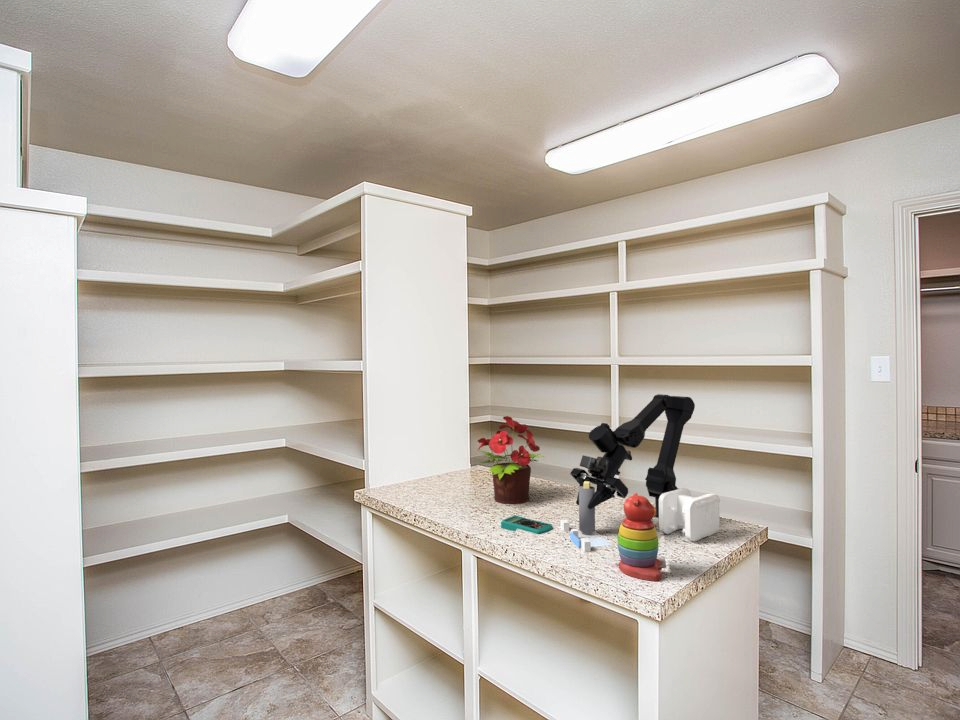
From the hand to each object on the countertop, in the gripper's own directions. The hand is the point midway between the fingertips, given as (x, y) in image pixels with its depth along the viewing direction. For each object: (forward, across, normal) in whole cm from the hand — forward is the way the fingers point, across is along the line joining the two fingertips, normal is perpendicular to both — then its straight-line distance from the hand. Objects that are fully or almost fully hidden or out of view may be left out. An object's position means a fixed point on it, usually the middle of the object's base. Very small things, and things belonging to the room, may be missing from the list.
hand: (582, 506), depth 147 cm
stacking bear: (+9, +24, +4) cm, 26 cm away
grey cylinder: (+4, 0, +6) cm, 7 cm away
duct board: (+6, +3, +6) cm, 10 cm away
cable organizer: (-13, +14, +26) cm, 32 cm away
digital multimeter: (+13, -14, 0) cm, 20 cm away
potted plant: (+3, -47, +10) cm, 48 cm away
